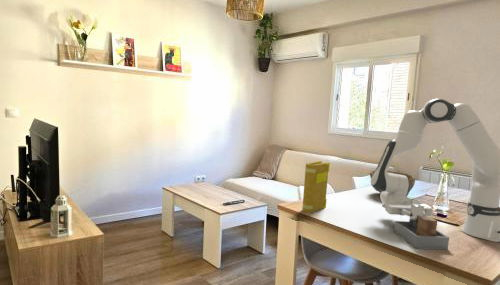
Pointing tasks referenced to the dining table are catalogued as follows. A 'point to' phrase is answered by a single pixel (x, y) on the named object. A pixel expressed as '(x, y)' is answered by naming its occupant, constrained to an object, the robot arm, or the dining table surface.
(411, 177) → the bowl
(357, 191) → the dining table surface
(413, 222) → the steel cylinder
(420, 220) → the walnut block
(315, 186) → the book
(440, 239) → the tote
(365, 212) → the dining table surface
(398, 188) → the robot arm
